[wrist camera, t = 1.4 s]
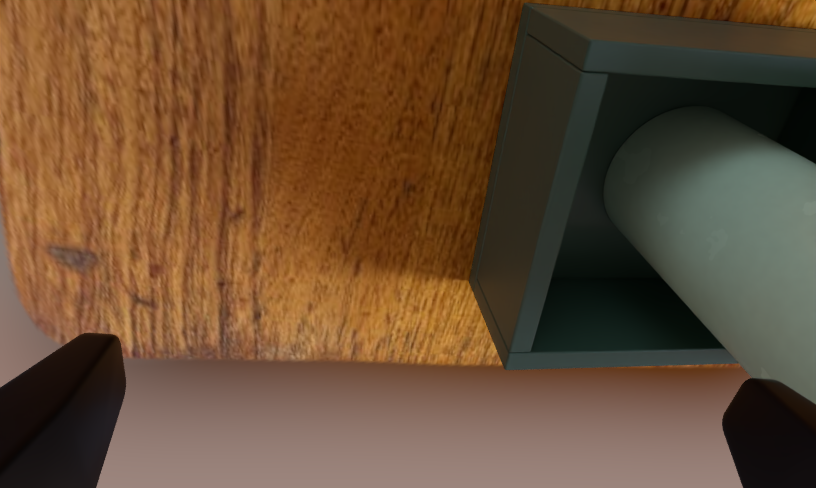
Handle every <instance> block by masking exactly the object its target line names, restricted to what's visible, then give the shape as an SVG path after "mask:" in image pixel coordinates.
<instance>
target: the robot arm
mask: <svg viewBox="0 0 816 488" xmlns="http://www.w3.org/2000/svg"><path fill="white" fill-rule="evenodd" d="M125 389H126V377H125V370H124V363H123V356H122V349H121V343H120V340H119V338H118V337H117V336H115V335H113V334H100V333H84V334H81V335H79V336H78V337H76V338H75V339H73V340H72V341H70V342H68V343H67V344H65V345H64V346H62V347H61V348H59V349H58V350H56V351H55V352H53V353H52V354H50V355H49V356H47V357H46V358H44V359H43V360H41V361H40V362H38V363H37V364H35V365H34V366H32V367H31V368H29V369H28V370H26V371H25V372H23V373H22V374H20V375H19V376H17V377H16V378H14V379H13V380H11V381H10V382H8V383H7V384H5V385H4V386H2V387H0V488H96V486H97V483H98V480H99V476H100V473H101V470H102V467H103V464H104V460H105V457H106V454H107V451H108V447H109V444H110V441H111V438H112V435H113V431H114V428H115V425H116V422H117V418H118V415H119V412H120V409H121V406H122V402H123V399H124V395H125ZM722 426H723V431H724V435H725V437H726V440H727V443H728V445H729V449H730V452H731V455H732V457H733V460H734V463H735V466H736V469H737V471H738V474H739V477H740V480H741V483H742V486H743V488H816V404H815V403H813V402H812V401H810V400H808V399H807V398H805V397H804V396H802V395H801V394H799V393H798V392H796V391H794V390H793V389H791V388H790V387H788V386H787V385H785V384H783V383H782V382H780V381H777V380H774V379H762V378H750V379H748V380H746V381H745V382H744V383H743V384H742V385H741V387H740V389H739V391H738V392H737V394H736V395H735V397H734V399H733V400H732V402H731V403H730V405H729V406H728V408H727V410H726V412H725V413H724V415H723V419H722Z"/></svg>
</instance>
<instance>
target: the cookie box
mask: <svg viewBox="0 0 816 488" xmlns="http://www.w3.org/2000/svg"><path fill="white" fill-rule="evenodd" d="M689 106H704V107H710V108H714V109H716V110H719V111H721V112H723V113H725V114H726V115H728V116H730V117H732V118H734V119H735V120H737V121H739V122H741V123H743V124H745V125H746V126H748V127H750V128H752V129H754V130H755V131H757V132H759V133H761V134H763V135H764V136H766V137H768V138H770V139H772V140H773V141H775V142H777V143H779V144H781V145H782V146H784V147H786V148H788V149H790V150H791V151H793V152H795V153H797V154H799V155H800V156H802V157H804V158H806V159H808V160H809V161H811V162H813V163H815V164H816V30H814V29H803V28H793V27H782V26H771V25H761V24H750V23H739V22H728V21H718V20H707V19H696V18H686V17H675V16H664V15H654V14H643V13H632V12H621V11H611V10H600V9H589V8H579V7H568V6H557V5H547V4H536V3H524V5H523V9H522V14H521V19H520V24H519V29H518V34H517V39H516V44H515V50H514V55H513V60H512V65H511V70H510V75H509V80H508V85H507V90H506V95H505V101H504V106H503V111H502V116H501V121H500V126H499V131H498V136H497V141H496V146H495V152H494V157H493V162H492V167H491V172H490V177H489V182H488V187H487V192H486V198H485V203H484V208H483V213H482V218H481V223H480V228H479V233H478V238H477V243H476V249H475V254H474V259H473V264H472V269H471V274H470V279H469V283H470V286H471V288H472V291H473V292H474V296H475V298H476V301H477V303H478V305H479V308H480V310H481V313H482V315H483V318H484V320H485V322H486V325H487V327H488V330H489V332H490V335H491V337H492V340H493V342H494V344H495V347H496V349H497V352H498V354H499V357H500V359H501V362H502V364H503V366H504V369H505V370H523V369H524V370H525V369H560V368H595V367H630V366H664V365H699V364H734V363H738V362H737V361H736V360H735V358H734V357H733V356H732V355H731V354H730V353H729V352H728V351H727V350H726V348H725V347H724V346H723V345H722V344H721V343H720V342H719V341H718V340H717V338H716V337H715V336H714V335H713V334H712V333H711V332H710V331H709V330H708V328H707V327H706V326H705V325H704V324H703V323H702V322H701V321H700V320H699V318H698V317H697V316H696V315H695V314H694V313H693V312H692V311H691V310H690V308H689V307H688V306H687V305H686V304H685V303H684V302H683V301H682V300H681V298H680V297H679V296H678V295H677V294H676V293H675V292H674V291H673V290H672V288H671V287H670V286H669V285H668V284H667V283H666V282H665V281H664V280H663V278H662V277H661V276H660V275H659V274H658V273H657V272H656V271H655V270H654V268H653V267H652V266H651V265H650V264H649V263H648V262H647V261H646V260H645V258H644V257H643V256H642V255H641V254H640V253H639V252H638V251H637V250H636V248H635V247H634V246H633V245H632V244H631V243H630V242H629V241H628V240H627V238H626V237H625V236H624V235H623V234H622V233H621V232H620V231H619V230H618V228H617V227H616V226H615V225H614V224H613V222H612V221H611V220H610V218H609V216H608V214H607V212H606V209H605V205H604V198H603V189H604V182H605V178H606V174H607V171H608V169H609V166H610V164H611V162H612V160H613V158H614V156H615V154H616V153H617V151H618V150H619V149H620V147H621V146H622V145H623V143H624V142H625V141H626V140H627V139H628V138H629V137H630V136H631V135H632V134H633V133H634V132H635V131H636V130H637V129H638V128H640V127H641V126H642V125H644V124H645V123H646V122H648V121H650V120H651V119H653V118H654V117H656V116H659V115H661V114H663V113H665V112H668V111H670V110H673V109H677V108H681V107H689Z"/></svg>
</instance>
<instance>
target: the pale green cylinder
mask: <svg viewBox="0 0 816 488" xmlns="http://www.w3.org/2000/svg"><path fill="white" fill-rule="evenodd" d="M603 198H604V205H605V209H606V212H607V214H608V216H609V218H610V220H611V221H612V222H613V224H614V225H615V226H616V227H617V228H618V230H619V231H620V232H621V233H622V234H623V235H624V236H625V237H626V238H627V240H628V241H629V242H630V243H631V244H632V245H633V246H634V247H635V248H636V250H637V251H638V252H639V253H640V254H641V255H642V256H643V257H644V258H645V260H646V261H647V262H648V263H649V264H650V265H651V266H652V267H653V268H654V270H655V271H656V272H657V273H658V274H659V275H660V276H661V277H662V278H663V280H664V281H665V282H666V283H667V284H668V285H669V286H670V287H671V288H672V290H673V291H674V292H675V293H676V294H677V295H678V296H679V297H680V298H681V300H682V301H683V302H684V303H685V304H686V305H687V306H688V307H689V308H690V310H691V311H692V312H693V313H694V314H695V315H696V316H697V317H698V318H699V320H700V321H701V322H702V323H703V324H704V325H705V326H706V327H707V328H708V330H709V331H710V332H711V333H712V334H713V335H714V336H715V337H716V338H717V340H718V341H719V342H720V343H721V344H722V345H723V346H724V347H725V348H726V350H727V351H728V352H729V353H730V354H731V355H732V356H733V357H734V358H735V360H736V361H737V362H738V363H739V364H740V365H741V366H742V367H743V368H744V370H745V371H746V372H747V373H748V374H749V375H750V376H751V377H752V378H762V379H774V380H777V381H780V382H782V383H783V384H785V385H787V386H788V387H790V388H791V389H793V390H794V391H796V392H798V393H799V394H801V395H802V396H804V397H805V398H807V399H808V400H810V401H812V402H813V403H815V404H816V164H815V163H813V162H811V161H809V160H808V159H806V158H804V157H802V156H800V155H799V154H797V153H795V152H793V151H791V150H790V149H788V148H786V147H784V146H782V145H781V144H779V143H777V142H775V141H773V140H772V139H770V138H768V137H766V136H764V135H763V134H761V133H759V132H757V131H755V130H754V129H752V128H750V127H748V126H746V125H745V124H743V123H741V122H739V121H737V120H735V119H734V118H732V117H730V116H728V115H726V114H725V113H723V112H721V111H719V110H716V109H714V108H710V107H704V106H689V107H681V108H677V109H673V110H670V111H668V112H665V113H663V114H661V115H659V116H656V117H654V118H653V119H651V120H650V121H648V122H646V123H645V124H644V125H642V126H641V127H640V128H638V129H637V130H636V131H635V132H634V133H633V134H632V135H631V136H630V137H629V138H628V139H627V140H626V141H625V142H624V143H623V145H622V146H621V147H620V149H619V150H618V151H617V153H616V154H615V156H614V158H613V160H612V162H611V164H610V166H609V169H608V171H607V174H606V178H605V182H604V189H603Z"/></svg>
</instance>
